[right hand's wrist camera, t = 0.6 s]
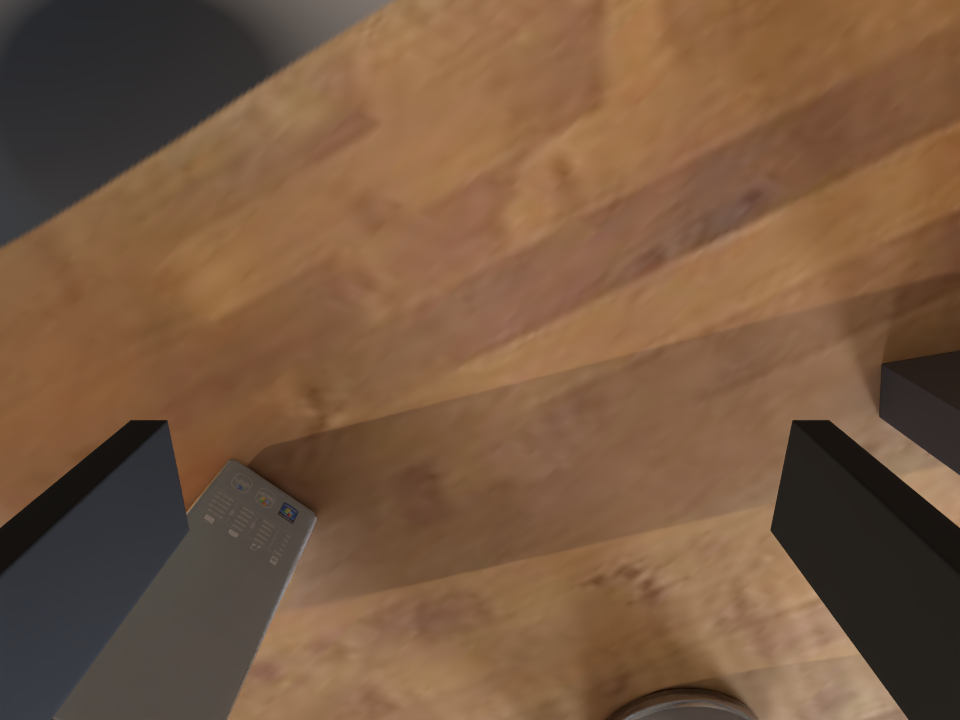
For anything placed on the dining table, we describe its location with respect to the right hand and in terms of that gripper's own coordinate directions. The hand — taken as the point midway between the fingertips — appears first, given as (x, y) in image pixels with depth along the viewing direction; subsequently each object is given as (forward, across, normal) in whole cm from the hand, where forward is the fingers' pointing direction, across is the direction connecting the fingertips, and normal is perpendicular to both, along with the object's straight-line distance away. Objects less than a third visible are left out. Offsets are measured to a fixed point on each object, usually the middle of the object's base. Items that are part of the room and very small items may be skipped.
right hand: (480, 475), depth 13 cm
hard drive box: (+26, +20, +22) cm, 40 cm away
